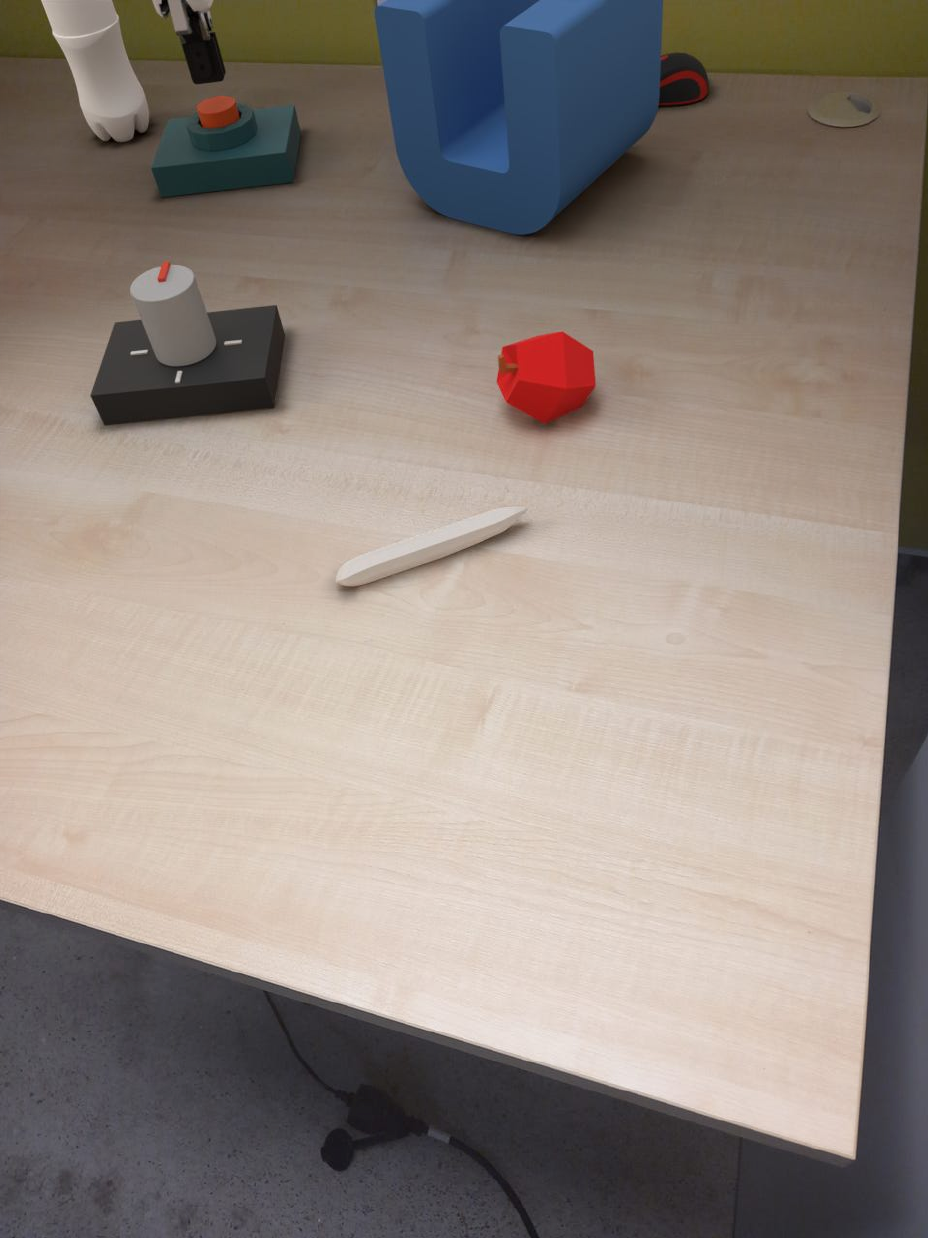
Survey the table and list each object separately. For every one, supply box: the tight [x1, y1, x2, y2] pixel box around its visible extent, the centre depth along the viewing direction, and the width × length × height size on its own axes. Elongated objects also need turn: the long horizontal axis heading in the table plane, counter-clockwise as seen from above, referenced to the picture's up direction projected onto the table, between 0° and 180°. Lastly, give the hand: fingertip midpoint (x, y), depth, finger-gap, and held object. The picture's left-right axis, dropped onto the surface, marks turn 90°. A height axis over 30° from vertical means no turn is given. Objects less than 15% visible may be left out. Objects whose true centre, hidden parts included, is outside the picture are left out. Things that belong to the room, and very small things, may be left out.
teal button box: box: [150, 102, 302, 198], centre depth 108 cm, size 14×11×5 cm
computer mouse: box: [658, 51, 710, 108], centre depth 108 cm, size 6×11×4 cm, turn 97°
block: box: [374, 0, 664, 236], centre depth 94 cm, size 18×18×18 cm
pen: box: [335, 505, 530, 587], centre depth 69 cm, size 2×14×2 cm, turn 111°
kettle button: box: [196, 95, 240, 129], centre depth 106 cm, size 4×4×2 cm
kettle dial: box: [129, 261, 216, 367], centre depth 81 cm, size 5×5×6 cm
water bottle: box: [40, 0, 150, 143], centre depth 108 cm, size 7×7×25 cm
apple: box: [496, 331, 597, 425], centre depth 76 cm, size 7×7×8 cm
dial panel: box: [90, 304, 286, 426], centre depth 84 cm, size 14×10×3 cm
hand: (210, 78), depth 103 cm, fingers closed
